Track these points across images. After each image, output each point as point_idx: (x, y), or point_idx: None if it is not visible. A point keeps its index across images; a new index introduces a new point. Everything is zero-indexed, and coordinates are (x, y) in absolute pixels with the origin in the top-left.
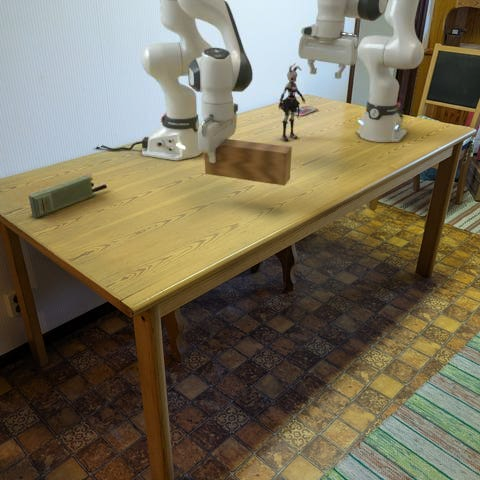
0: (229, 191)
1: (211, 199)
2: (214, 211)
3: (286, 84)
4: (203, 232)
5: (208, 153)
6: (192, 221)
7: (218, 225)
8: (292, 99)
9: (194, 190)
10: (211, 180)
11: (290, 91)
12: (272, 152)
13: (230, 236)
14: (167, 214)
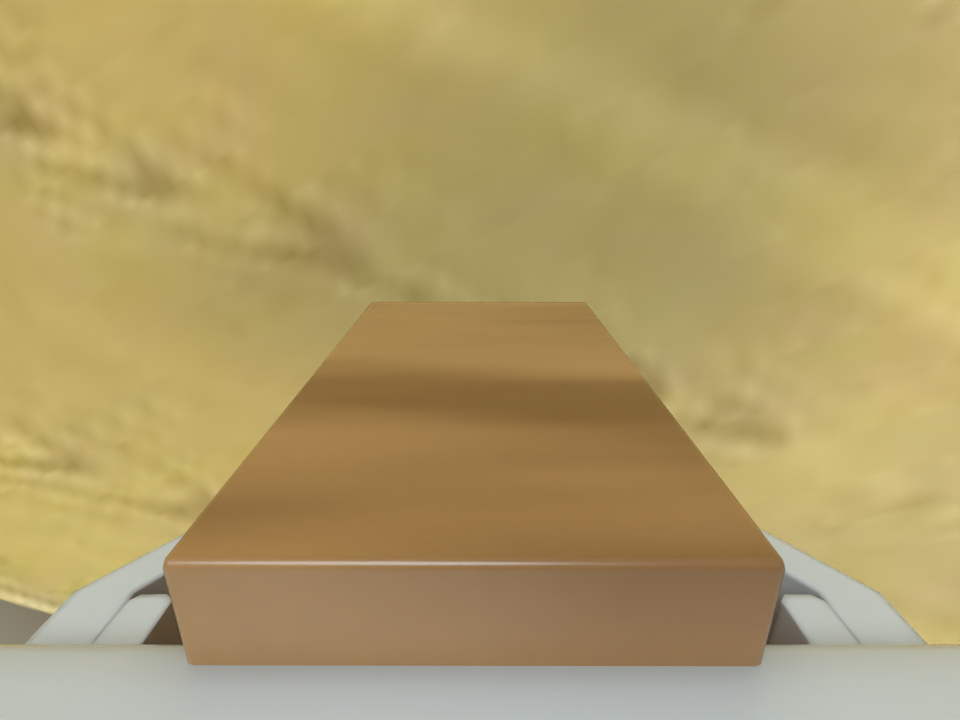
0: (643, 331)
1: (473, 266)
2: (314, 354)
3: None
4: (48, 397)
5: (129, 577)
6: (120, 284)
7: (168, 439)
8: None
9: (585, 63)
10: (826, 116)
11: None
12: None
13: (102, 528)
14: (99, 61)
